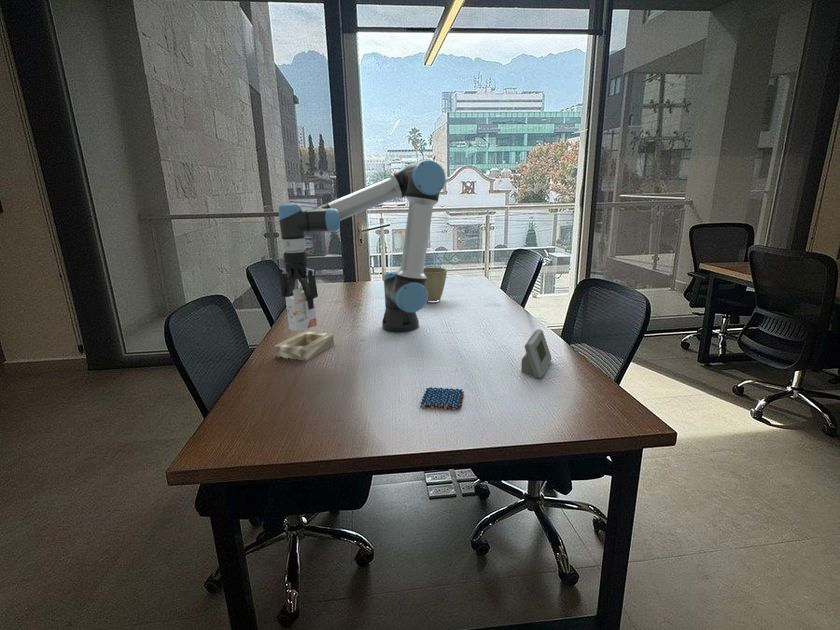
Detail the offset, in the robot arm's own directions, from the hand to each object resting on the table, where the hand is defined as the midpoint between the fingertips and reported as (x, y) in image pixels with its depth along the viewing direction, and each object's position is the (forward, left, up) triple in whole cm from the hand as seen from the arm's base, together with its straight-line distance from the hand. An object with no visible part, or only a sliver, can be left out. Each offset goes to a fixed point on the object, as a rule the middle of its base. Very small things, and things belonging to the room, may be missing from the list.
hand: (301, 316), depth 152 cm
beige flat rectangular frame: (0, 0, -13) cm, 13 cm away
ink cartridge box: (0, 0, -4) cm, 4 cm away
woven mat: (-59, +22, -13) cm, 64 cm away
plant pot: (-21, -78, -13) cm, 82 cm away
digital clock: (-81, -7, -13) cm, 82 cm away
